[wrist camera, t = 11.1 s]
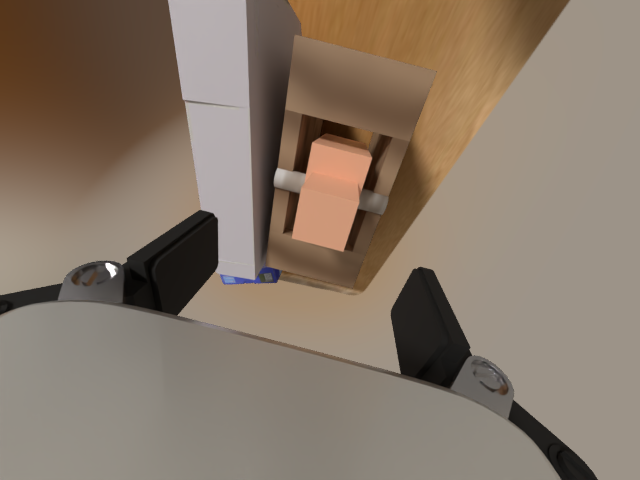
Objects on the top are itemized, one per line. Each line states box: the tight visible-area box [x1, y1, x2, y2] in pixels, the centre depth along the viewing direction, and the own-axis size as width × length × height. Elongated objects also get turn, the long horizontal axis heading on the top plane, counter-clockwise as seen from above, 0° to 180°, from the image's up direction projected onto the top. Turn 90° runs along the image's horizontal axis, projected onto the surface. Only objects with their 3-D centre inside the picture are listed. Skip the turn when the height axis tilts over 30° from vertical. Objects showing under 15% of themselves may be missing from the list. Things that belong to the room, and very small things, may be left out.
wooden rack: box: [265, 35, 437, 289], centre depth 30 cm, size 22×11×19 cm, turn 167°
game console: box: [168, 0, 302, 280], centre depth 29 cm, size 6×27×20 cm, turn 173°
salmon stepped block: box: [292, 133, 372, 252], centre depth 24 cm, size 8×5×16 cm, turn 167°
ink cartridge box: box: [220, 262, 282, 284], centre depth 41 cm, size 10×6×14 cm, turn 98°
